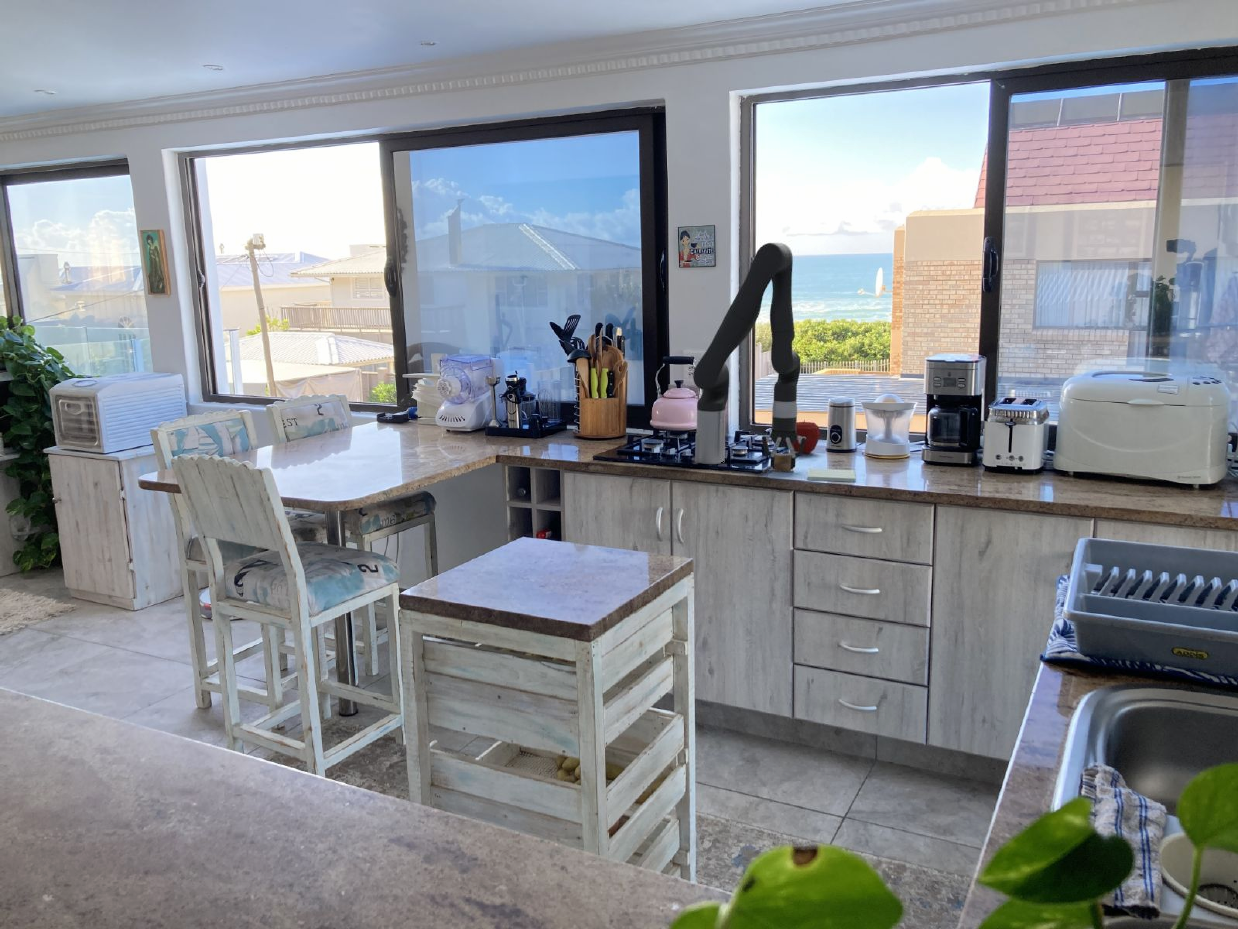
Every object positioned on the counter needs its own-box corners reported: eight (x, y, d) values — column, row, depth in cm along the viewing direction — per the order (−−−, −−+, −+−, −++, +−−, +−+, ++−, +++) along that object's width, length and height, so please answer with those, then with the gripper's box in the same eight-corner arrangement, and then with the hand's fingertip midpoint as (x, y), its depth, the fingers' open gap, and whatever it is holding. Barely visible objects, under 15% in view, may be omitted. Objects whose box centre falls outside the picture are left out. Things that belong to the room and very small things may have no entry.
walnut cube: (774, 471, 303) (774, 456, 302) (775, 468, 308) (775, 453, 307) (790, 472, 302) (790, 456, 301) (791, 469, 307) (791, 453, 306)
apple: (817, 450, 338) (818, 417, 335) (820, 456, 327) (822, 422, 325) (785, 450, 339) (786, 416, 336) (787, 456, 328) (788, 421, 326)
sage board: (807, 479, 292) (807, 476, 292) (808, 471, 304) (808, 468, 303) (855, 481, 289) (855, 478, 289) (854, 473, 301) (855, 470, 300)
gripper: (760, 416, 300) (758, 470, 303) (807, 417, 297) (805, 472, 300) (762, 412, 307) (760, 465, 310) (808, 413, 304) (806, 467, 307)
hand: (782, 468), depth 305 cm, fingers closed on walnut cube, 5 cm apart
